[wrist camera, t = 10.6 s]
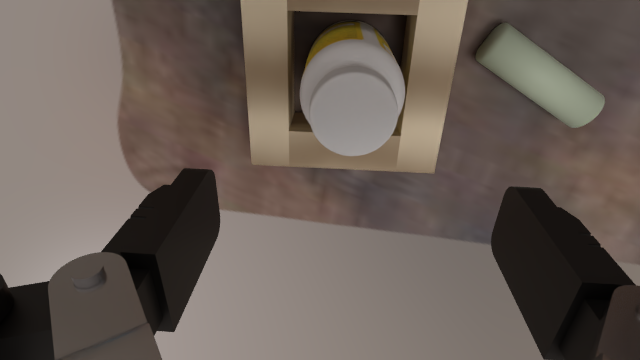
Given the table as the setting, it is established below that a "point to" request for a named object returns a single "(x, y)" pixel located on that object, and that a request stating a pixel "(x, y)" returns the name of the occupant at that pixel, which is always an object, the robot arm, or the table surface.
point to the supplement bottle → (352, 89)
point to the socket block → (416, 66)
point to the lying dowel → (539, 76)
